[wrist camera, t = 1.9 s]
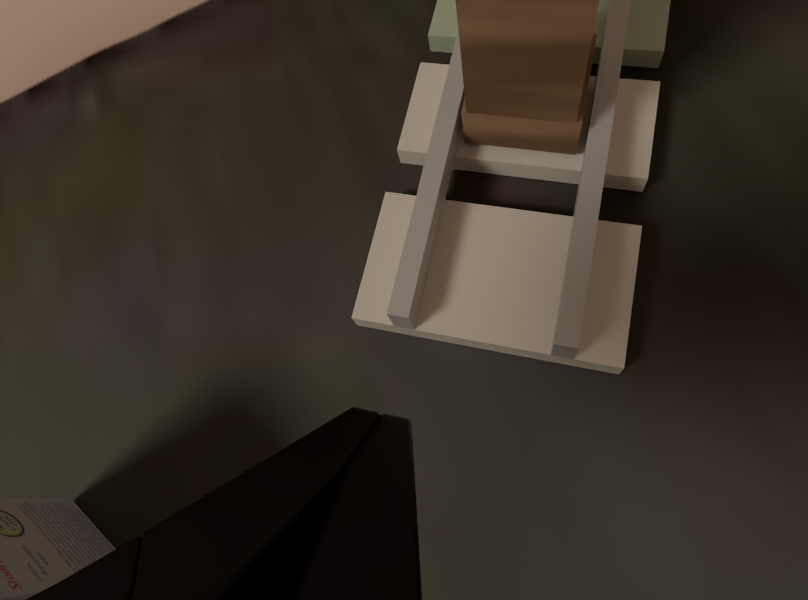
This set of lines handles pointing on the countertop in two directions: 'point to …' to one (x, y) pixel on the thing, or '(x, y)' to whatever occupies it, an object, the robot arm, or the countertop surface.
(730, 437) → the countertop surface
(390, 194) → the track
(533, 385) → the countertop surface
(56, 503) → the medicine box
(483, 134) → the slider
